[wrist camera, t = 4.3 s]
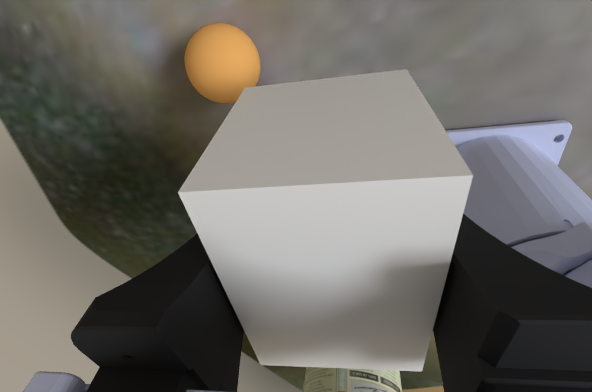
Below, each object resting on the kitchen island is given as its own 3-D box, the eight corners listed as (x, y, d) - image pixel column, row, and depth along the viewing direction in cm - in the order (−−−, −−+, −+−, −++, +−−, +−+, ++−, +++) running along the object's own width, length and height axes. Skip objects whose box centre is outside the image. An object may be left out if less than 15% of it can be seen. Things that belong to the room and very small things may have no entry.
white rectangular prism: (393, 237, 16) (421, 371, 11) (282, 240, 17) (260, 365, 12) (406, 69, 11) (473, 175, 6) (245, 87, 12) (177, 192, 7)
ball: (273, 85, 19) (258, 110, 16) (214, 93, 20) (189, 118, 17) (258, 11, 17) (236, 23, 13) (191, 24, 17) (157, 38, 14)
